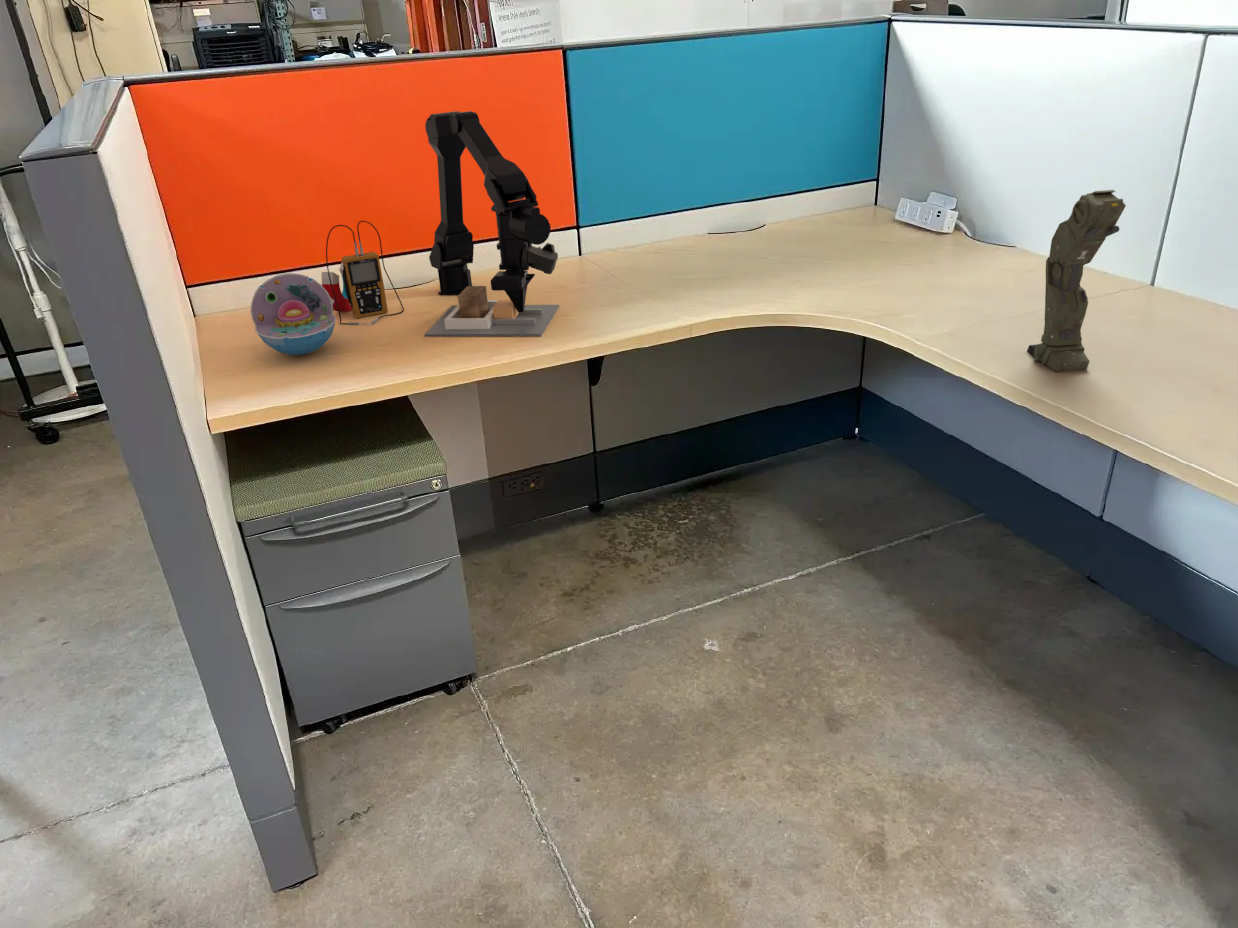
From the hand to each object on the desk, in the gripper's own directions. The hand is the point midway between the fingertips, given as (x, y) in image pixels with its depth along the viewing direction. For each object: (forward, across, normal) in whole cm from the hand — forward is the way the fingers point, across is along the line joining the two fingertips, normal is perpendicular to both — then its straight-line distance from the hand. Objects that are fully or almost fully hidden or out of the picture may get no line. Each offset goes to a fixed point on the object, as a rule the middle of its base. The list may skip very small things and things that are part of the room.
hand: (521, 311), depth 185 cm
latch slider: (+2, 0, +3) cm, 4 cm away
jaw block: (+1, 0, +10) cm, 10 cm away
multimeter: (+2, +2, +33) cm, 33 cm away
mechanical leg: (+3, -23, -99) cm, 102 cm away
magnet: (+2, +8, +42) cm, 43 cm away
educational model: (+2, -18, +40) cm, 44 cm away
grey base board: (+2, 0, +6) cm, 6 cm away
